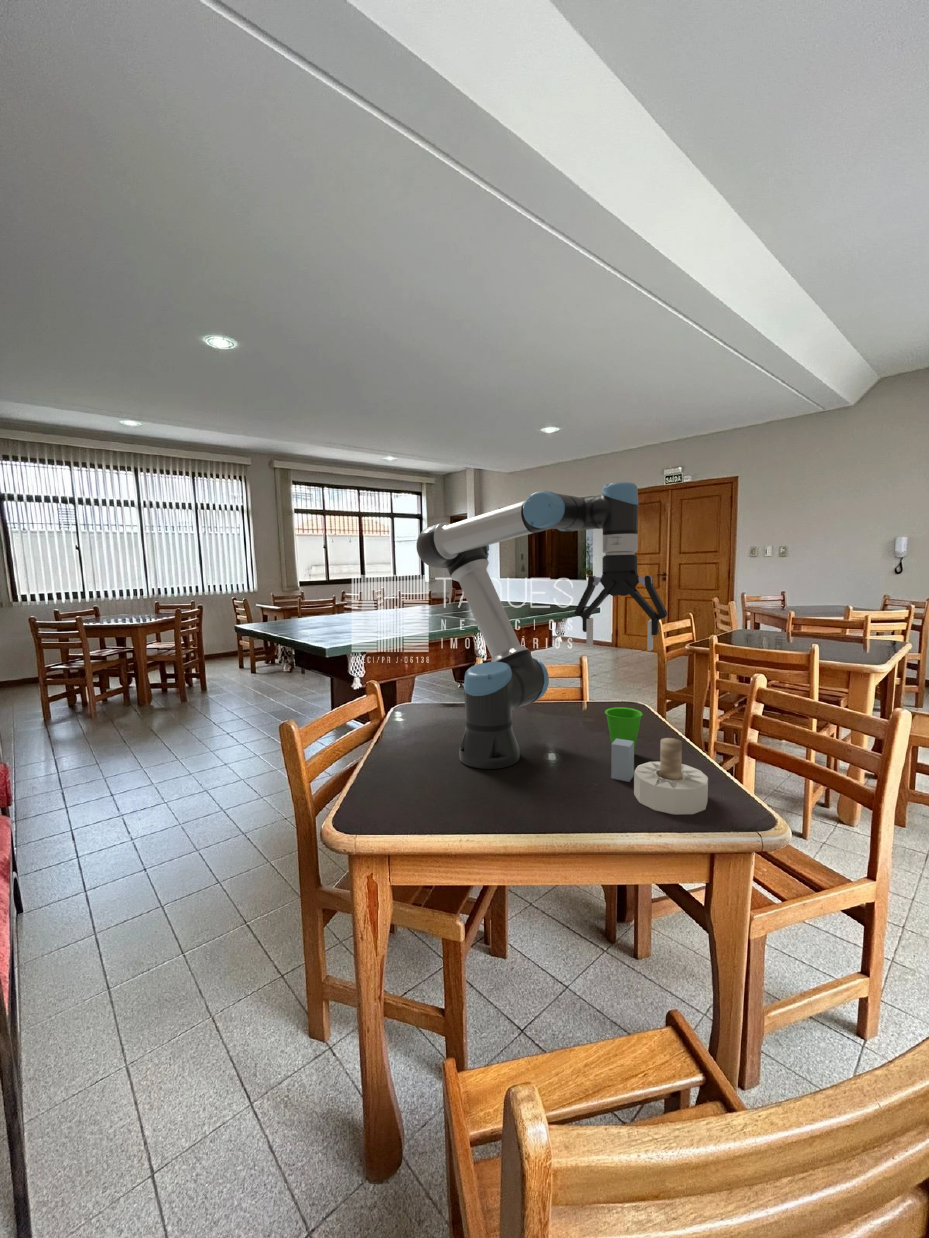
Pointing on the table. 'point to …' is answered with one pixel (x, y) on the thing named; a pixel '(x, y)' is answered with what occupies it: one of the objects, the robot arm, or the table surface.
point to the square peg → (622, 760)
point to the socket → (671, 789)
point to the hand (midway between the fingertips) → (619, 647)
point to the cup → (623, 723)
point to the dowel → (670, 759)
